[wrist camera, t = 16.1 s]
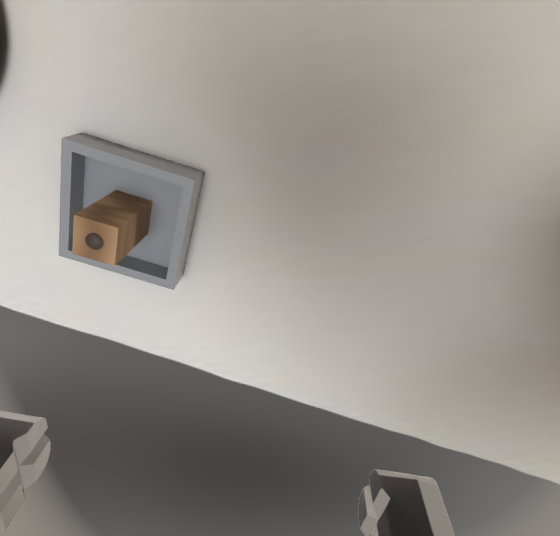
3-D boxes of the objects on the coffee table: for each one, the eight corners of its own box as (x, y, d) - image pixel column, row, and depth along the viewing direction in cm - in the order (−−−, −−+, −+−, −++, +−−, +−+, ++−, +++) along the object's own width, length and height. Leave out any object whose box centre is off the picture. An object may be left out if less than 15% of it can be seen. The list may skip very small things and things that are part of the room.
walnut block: (152, 201, 40) (117, 228, 33) (148, 234, 42) (113, 266, 35) (116, 189, 40) (72, 215, 33) (113, 223, 42) (71, 254, 35)
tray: (204, 172, 40) (194, 180, 36) (182, 274, 46) (173, 289, 42) (82, 132, 39) (61, 137, 36) (76, 242, 45) (58, 255, 42)
